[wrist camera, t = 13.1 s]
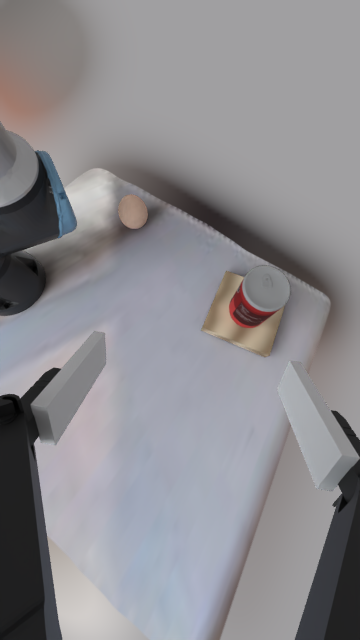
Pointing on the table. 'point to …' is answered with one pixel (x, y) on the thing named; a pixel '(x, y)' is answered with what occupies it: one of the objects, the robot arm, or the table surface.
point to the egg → (132, 211)
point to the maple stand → (228, 330)
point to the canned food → (259, 296)
